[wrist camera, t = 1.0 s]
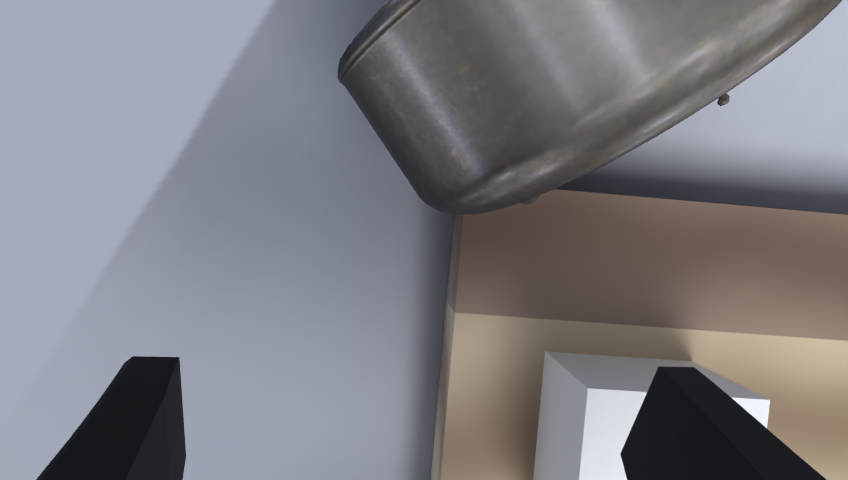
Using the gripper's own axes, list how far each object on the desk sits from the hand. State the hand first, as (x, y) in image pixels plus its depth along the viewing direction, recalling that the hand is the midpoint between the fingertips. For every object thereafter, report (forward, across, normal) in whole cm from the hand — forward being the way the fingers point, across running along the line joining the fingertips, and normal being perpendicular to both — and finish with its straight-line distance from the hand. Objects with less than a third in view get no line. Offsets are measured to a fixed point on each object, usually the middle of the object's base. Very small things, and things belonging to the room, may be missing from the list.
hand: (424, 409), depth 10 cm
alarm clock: (+14, -5, -1) cm, 15 cm away
